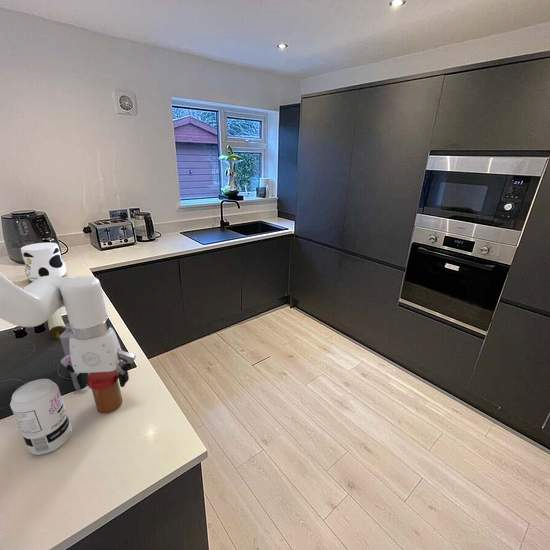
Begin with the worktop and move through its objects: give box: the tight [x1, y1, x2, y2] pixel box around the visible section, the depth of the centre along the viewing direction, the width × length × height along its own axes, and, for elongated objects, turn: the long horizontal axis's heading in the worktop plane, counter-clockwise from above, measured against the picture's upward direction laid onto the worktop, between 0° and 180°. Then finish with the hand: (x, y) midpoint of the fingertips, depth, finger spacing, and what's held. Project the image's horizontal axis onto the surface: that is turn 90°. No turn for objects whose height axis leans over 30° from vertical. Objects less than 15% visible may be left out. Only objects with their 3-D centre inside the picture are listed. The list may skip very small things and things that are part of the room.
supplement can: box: [9, 378, 73, 455], centre depth 64 cm, size 8×8×15 cm
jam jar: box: [91, 379, 123, 415], centre depth 75 cm, size 6×6×10 cm
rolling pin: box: [46, 308, 66, 340], centre depth 113 cm, size 32×6×5 cm, turn 38°
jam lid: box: [87, 370, 119, 390], centre depth 74 cm, size 7×7×2 cm
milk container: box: [20, 242, 67, 282], centre depth 152 cm, size 17×17×18 cm
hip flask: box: [59, 328, 90, 391], centre depth 85 cm, size 16×4×20 cm, turn 15°
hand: (104, 384), depth 75 cm, fingers open, 9 cm apart
